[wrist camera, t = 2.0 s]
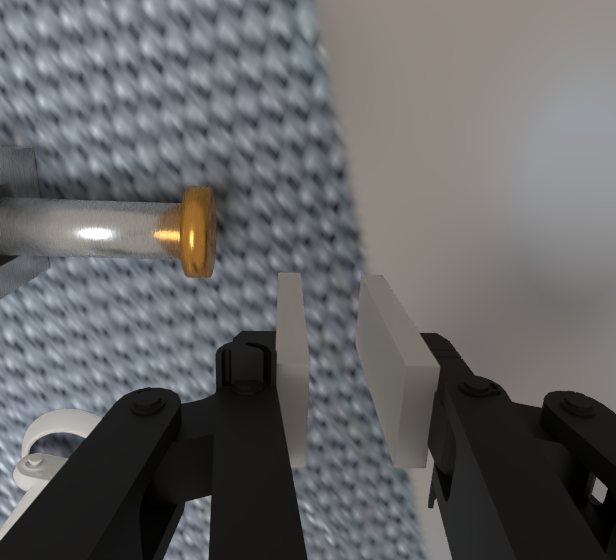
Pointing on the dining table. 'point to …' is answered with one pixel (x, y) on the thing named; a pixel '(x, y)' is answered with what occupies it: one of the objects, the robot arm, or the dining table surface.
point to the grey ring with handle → (45, 455)
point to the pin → (114, 229)
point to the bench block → (19, 184)
